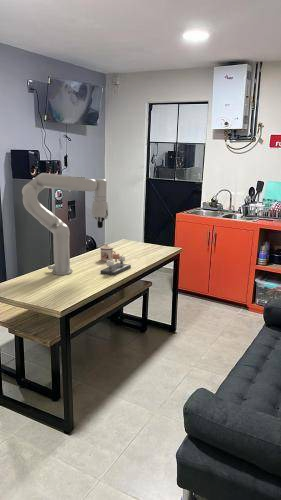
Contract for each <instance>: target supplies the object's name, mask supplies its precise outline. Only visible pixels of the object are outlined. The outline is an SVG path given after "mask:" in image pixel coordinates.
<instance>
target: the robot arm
mask: <svg viewBox="0 0 281 500" xmlns="http://www.w3.org/2000/svg"><path fill="white" fill-rule="evenodd" d="M107 182H108V181H107V180H106V179H105V178H85V177H84V178H83V177H75V176H71V175H67V174H66V175H65V174H57V173H46V172H41V173H39V174H37V176H35V177H34V178H33V179H31V180H30V181H29V182H28V183H26V184H25V185H24V186H23V187H22V189H21V194H22V203H23V206H24V209H25V210H26V211H27V212H28V213H29V214H30V215H32V217H33V218H35V219H36V220H37V221H38V222H39V223H40V224H41V225H42V226H44V227H45V228H46V229H47V230H48V231H49V232H51V233H52V234H53V262H54V265H47V269H48V270H52V272H51V273H52V274H53V275H56V276H65V275H66V276H67V275H70V274H72V273H73V271H74V270H73V269H72V268H71V259H70V235H71V234H70V233H71V232H70V228H69V226H68V225H67V224H66V223H65V222H63V221H62V220H61V219H60V218H58V217H57V216H56V215H55V213H53V212H52V211H51V210H48V209H47V208H46V207H45V206H44V205H43V204H42V203H41V202H40V201H39V199H38V195H39V193H41V192H42V191H43V190H44V189H54V190H55V189H56V190H63V191H64V190H67V191H79V192H80V191H81V192H94V196H93V197H92V198H93V200H92V206H91V216H92V217H93V219H95V220H96V222H97V228H98V229H103V226H104V222H105V220H108V216H109V205H108V201H107V185H108V184H107Z"/></svg>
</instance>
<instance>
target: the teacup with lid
mask: <svg viewBox="0 0 281 500" xmlns="http://www.w3.org/2000/svg"><path fill="white" fill-rule="evenodd" d="M114 253H117V252H116V251H115V250H114V247H113V246H112V245H109V244H108V243H105V244H104V245H103V246H100V261H102V262H107V260H113V261H114V259H113V254H114Z"/></svg>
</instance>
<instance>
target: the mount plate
mask: <svg viewBox="0 0 281 500" xmlns="http://www.w3.org/2000/svg"><path fill="white" fill-rule="evenodd" d="M131 266H132V265H131V264H127V263H123V264H120V262H115V263H114V266H112V269H109V266H106V267H105V268H103V269H100V274H101V275H108V276H113V277H115V276H117V275H119V274H121V273H124V272H125V271H127V270H129V269H131V268H132V267H131Z"/></svg>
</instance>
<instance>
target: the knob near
mask: <svg viewBox="0 0 281 500" xmlns="http://www.w3.org/2000/svg"><path fill="white" fill-rule="evenodd" d="M114 264H115V260H114V259H113V260H107V261H106V267H109V269H112V266H114Z"/></svg>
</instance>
